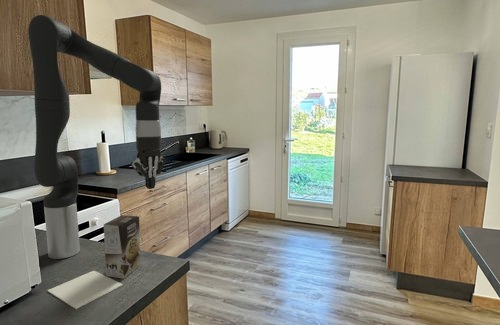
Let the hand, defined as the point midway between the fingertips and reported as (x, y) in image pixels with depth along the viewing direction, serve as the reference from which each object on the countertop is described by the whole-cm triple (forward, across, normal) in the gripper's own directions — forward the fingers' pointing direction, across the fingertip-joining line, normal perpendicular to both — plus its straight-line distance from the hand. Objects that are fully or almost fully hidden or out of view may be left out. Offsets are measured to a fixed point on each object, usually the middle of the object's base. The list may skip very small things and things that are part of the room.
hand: (150, 188), depth 101 cm
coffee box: (+24, +11, 0) cm, 26 cm away
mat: (+24, +23, 0) cm, 33 cm away
